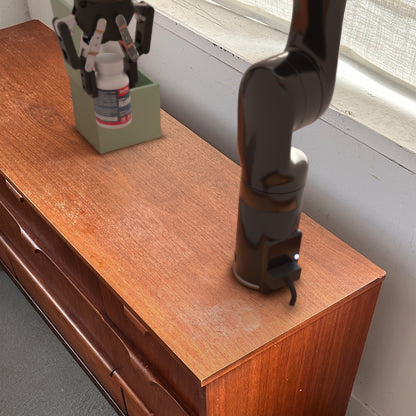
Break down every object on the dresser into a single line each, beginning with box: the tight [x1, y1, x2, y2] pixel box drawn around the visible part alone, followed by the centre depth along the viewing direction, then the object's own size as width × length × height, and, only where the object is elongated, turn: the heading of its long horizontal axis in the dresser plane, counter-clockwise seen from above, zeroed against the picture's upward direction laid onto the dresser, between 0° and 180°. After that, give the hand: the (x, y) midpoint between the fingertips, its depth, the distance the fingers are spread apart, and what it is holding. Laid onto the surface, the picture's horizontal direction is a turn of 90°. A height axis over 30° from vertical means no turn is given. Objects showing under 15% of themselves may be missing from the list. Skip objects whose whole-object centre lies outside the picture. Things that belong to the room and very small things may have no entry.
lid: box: [49, 0, 83, 89], centre depth 112 cm, size 14×12×1 cm
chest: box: [68, 65, 162, 155], centre depth 124 cm, size 14×12×11 cm
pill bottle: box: [93, 52, 132, 129], centre depth 89 cm, size 5×5×9 cm
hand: (111, 90), depth 89 cm, fingers closed on pill bottle, 5 cm apart
